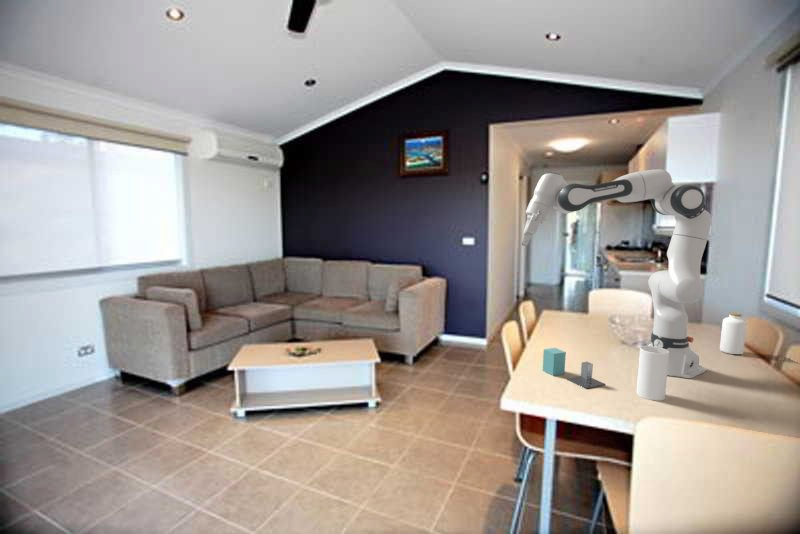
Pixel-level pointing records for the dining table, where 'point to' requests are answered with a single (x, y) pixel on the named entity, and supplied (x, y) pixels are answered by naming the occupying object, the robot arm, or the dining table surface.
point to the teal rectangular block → (554, 361)
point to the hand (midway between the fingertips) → (524, 245)
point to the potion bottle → (733, 334)
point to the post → (586, 377)
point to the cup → (652, 372)
